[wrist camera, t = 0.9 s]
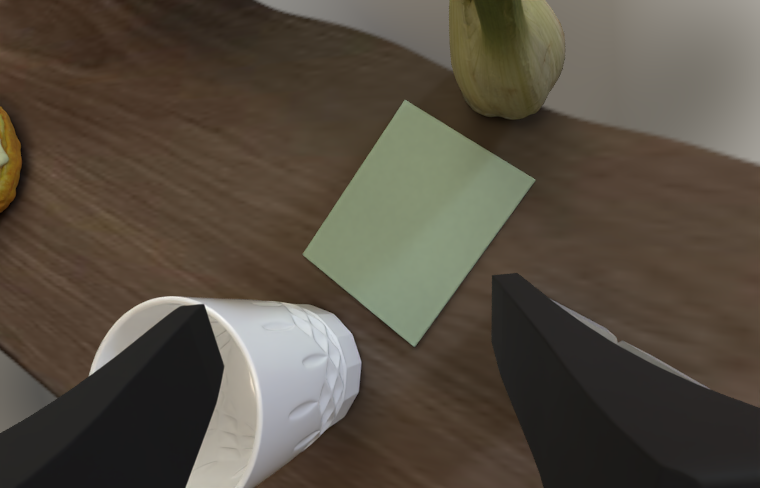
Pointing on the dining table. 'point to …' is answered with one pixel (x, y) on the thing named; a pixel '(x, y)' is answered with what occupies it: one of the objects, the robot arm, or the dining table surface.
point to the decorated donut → (8, 161)
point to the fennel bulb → (505, 54)
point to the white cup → (259, 381)
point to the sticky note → (416, 220)
